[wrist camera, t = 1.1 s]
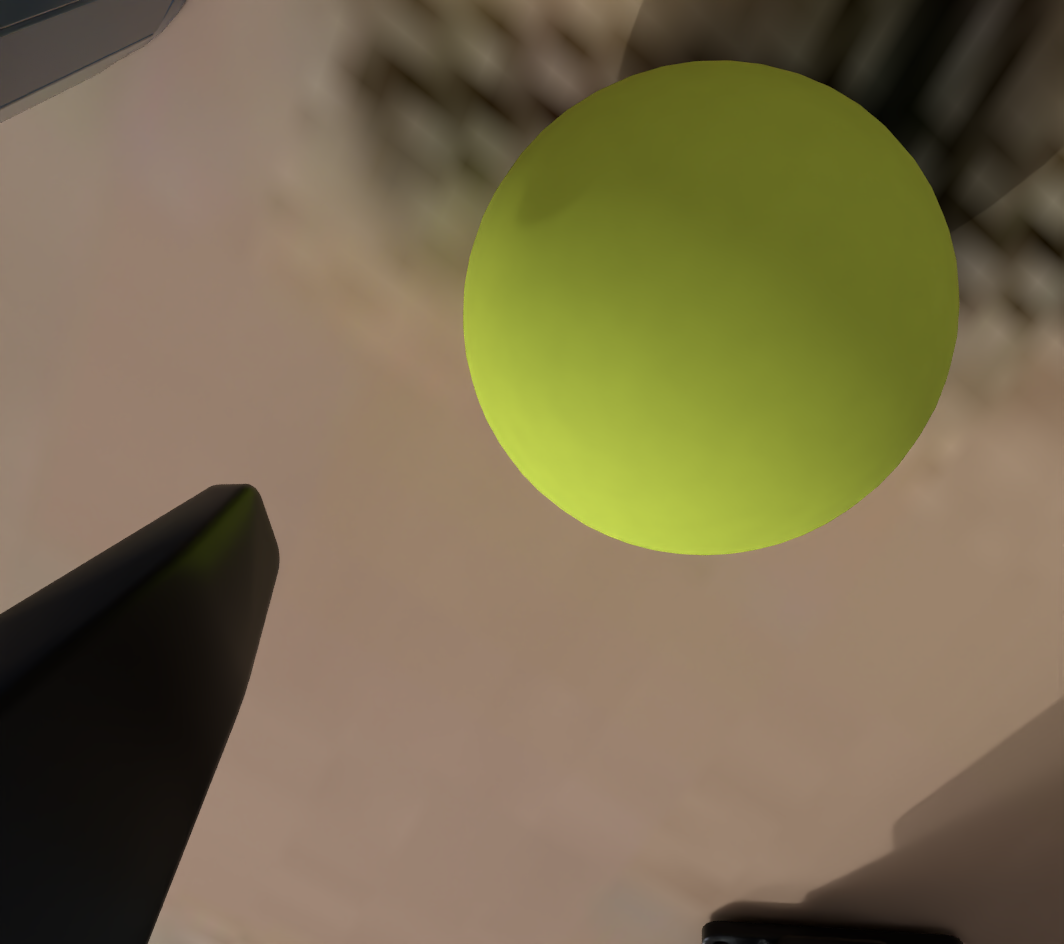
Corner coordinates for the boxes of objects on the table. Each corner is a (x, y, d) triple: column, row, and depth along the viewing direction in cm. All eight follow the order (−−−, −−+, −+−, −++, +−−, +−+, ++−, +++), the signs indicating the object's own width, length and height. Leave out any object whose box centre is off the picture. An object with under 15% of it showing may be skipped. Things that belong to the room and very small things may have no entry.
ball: (887, 392, 16) (974, 663, 11) (527, 403, 17) (462, 654, 12) (931, -10, 12) (1085, 126, 8) (476, 34, 13) (357, 180, 9)
